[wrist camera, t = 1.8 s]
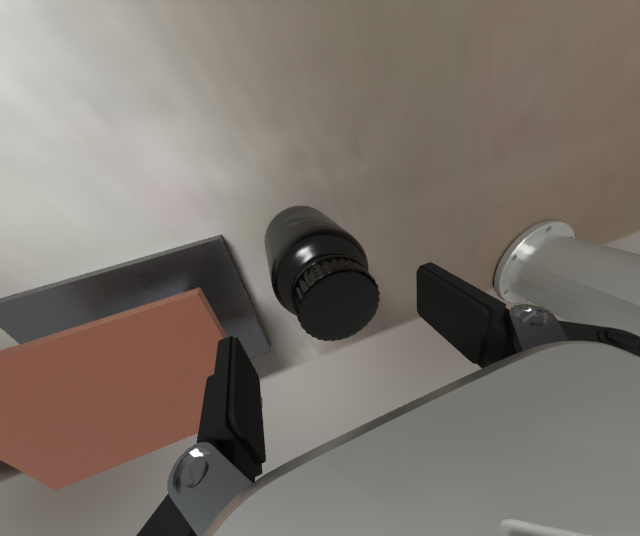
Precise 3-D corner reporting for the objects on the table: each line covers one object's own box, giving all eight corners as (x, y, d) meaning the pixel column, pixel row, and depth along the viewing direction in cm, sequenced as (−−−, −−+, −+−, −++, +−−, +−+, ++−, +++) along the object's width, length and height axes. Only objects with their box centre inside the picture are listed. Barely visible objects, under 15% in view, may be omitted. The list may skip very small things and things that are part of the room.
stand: (221, 234, 21) (206, 274, 14) (270, 343, 28) (277, 408, 20) (-6, 300, 18) (-167, 390, 11) (107, 403, 25) (51, 501, 18)
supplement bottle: (322, 274, 26) (373, 355, 15) (258, 266, 23) (267, 355, 13) (340, 212, 23) (415, 258, 13) (271, 197, 21) (293, 237, 10)
